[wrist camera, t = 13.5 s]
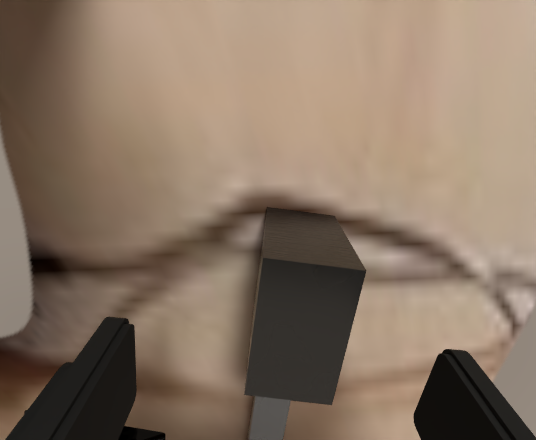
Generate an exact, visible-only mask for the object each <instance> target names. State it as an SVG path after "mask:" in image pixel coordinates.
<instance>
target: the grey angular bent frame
mask: <svg viewBox="0 0 536 440" xmlns="http://www.w3.org/2000/svg"><path fill="white" fill-rule="evenodd" d="M365 274H366V269H365V268H364V266H363V264H362V263H361V261H360V259H359V257H358V256H357V254H356V252H355V250H354V249H353V247H352V245H351V244H350V242H349V240H348V238H347V237H346V235H345V233H344V231H343V230H342V228H341V226H340V224H339V223H338V221H337V219H336V218H335V216H331V215H324V214H316V213H308V212H301V211H293V210H285V209H277V208H270V207H267V212H266V219H265V227H264V234H263V242H262V249H261V257H260V264H259V272H258V279H257V286H256V294H255V301H254V309H253V319H252V328H251V337H250V346H249V355H248V365H247V374H246V383H245V392H244V395H250V396H254V397H253V404H252V410H251V417H250V424H249V430H248V437H247V440H283V436H284V431H285V426H286V421H287V416H288V411H289V406H290V401H291V400H293V401H301V402H310V403H318V404H327V405H332V403H333V399H334V395H335V391H336V387H337V383H338V379H339V375H340V371H341V367H342V364H343V360H344V356H345V352H346V348H347V344H348V340H349V336H350V332H351V328H352V324H353V320H354V317H355V313H356V309H357V305H358V301H359V297H360V293H361V289H362V285H363V281H364V277H365Z"/></svg>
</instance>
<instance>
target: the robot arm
mask: <svg viewBox="0 0 536 440" xmlns="http://www.w3.org/2000/svg"><path fill="white" fill-rule="evenodd" d="M135 397H136V360H135V331H134V325H133V324H129V321H128V319H126V318H115V317H106V318H105V319H104V320H103V322H102V323H101V325H100V326H99V327H98V329H97V330H96V332H95V333H94V334H93V336H92V337H91V338H90V340H89V341H88V343H87V344H86V345H85V347H84V348H83V350H82V351H81V352H80V354H79V355H78V357H77V358H76V359H75V361H74V362H73V363H71V362H68V363H65V364H63V365H62V366H61V367H60V368H59V369H58V371H57V372H56V373H55V375H54V376H53V377H52V379H51V380H50V381H49V383H48V384H47V385H46V387H45V388H44V389H43V390H42V392H41V393H40V394H39V396H38V397H37V398H36V400H35V401H34V402H33V404H32V405H31V406H30V408H29V409H28V410H27V412H26V413H25V414H24V416H23V417H22V418H21V420H20V421H19V422H18V424H17V425H16V426H15V428H14V429H13V430H12V432H11V433H10V434H9V436H8V437H7V438H6V440H118V439H119V436H120V434H121V432H122V429H123V427H124V425H125V422H126V420H127V418H128V415H129V413H130V411H131V408H132V406H133V404H134V401H135ZM414 424H415V427H416V429H417V432H418V434H419V436H420V438H421V440H536V437H535V436H534V435H533V433H532V432H531V431H530V430H529V428H528V427H527V426H526V425H525V423H524V422H523V421H522V419H521V418H520V417H519V416H518V414H517V413H516V412H515V411H514V409H513V408H512V407H511V406H510V404H509V403H508V402H507V401H506V399H505V398H504V397H503V396H502V394H501V393H500V392H499V390H498V389H497V388H496V387H495V385H494V384H493V383H492V381H491V380H490V379H489V378H488V376H487V375H486V374H485V373H484V371H483V370H482V369H481V368H480V366H479V365H478V364H477V362H476V361H475V360H474V359H473V357H472V356H471V355H470V354H469V353H468V352H466V351H463V350H452V349H445V350H444V351H443V352H442V353H441V354H439V355H438V356H437V359H436V361H435V363H434V366H433V368H432V371H431V373H430V376H429V378H428V380H427V383H426V385H425V388H424V390H423V393H422V395H421V398H420V400H419V402H418V405H417V407H416V410H415V412H414Z"/></svg>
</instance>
